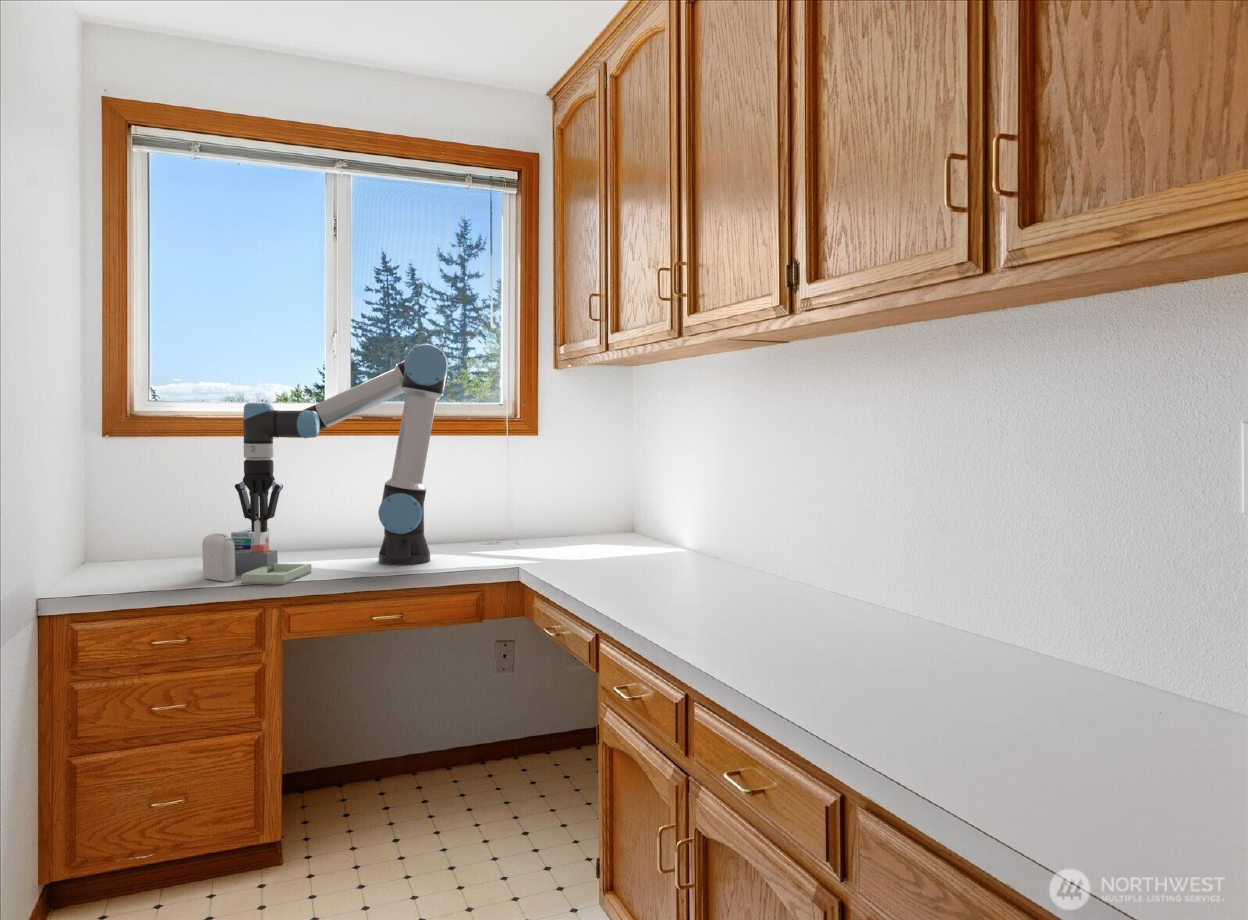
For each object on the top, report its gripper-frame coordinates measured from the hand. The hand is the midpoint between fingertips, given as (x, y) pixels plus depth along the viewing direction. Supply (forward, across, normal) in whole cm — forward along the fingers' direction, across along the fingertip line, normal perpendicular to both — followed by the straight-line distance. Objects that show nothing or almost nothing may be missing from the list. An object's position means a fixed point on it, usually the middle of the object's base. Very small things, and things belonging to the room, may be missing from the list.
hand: (259, 543), depth 232 cm
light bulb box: (+9, -7, +10) cm, 15 cm away
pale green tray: (+8, +8, -6) cm, 13 cm away
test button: (+5, 0, 0) cm, 5 cm away
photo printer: (+9, -6, -9) cm, 14 cm away
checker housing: (+8, -3, 0) cm, 9 cm away
